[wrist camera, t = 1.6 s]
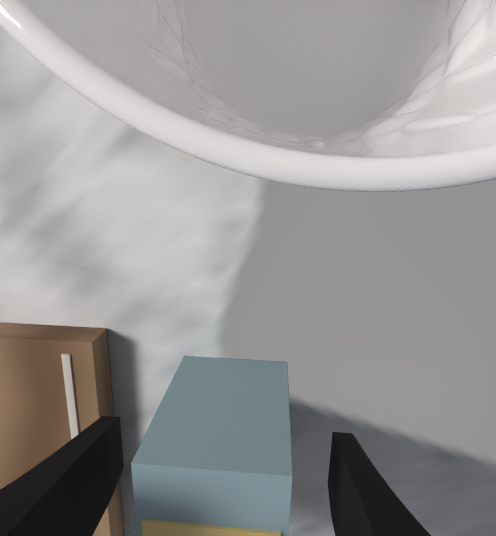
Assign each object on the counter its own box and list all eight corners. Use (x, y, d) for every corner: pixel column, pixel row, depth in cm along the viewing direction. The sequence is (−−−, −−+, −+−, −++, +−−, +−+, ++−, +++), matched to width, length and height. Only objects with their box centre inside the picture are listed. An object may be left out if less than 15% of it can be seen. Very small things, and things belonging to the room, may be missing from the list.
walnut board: (106, 328, 14) (90, 343, 13) (133, 651, 19) (123, 684, 18) (-41, 320, 15) (-69, 334, 14) (22, 638, 20) (5, 669, 18)
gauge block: (287, 361, 14) (292, 479, 9) (282, 449, 15) (284, 600, 10) (184, 355, 15) (129, 465, 9) (186, 441, 16) (138, 585, 10)
